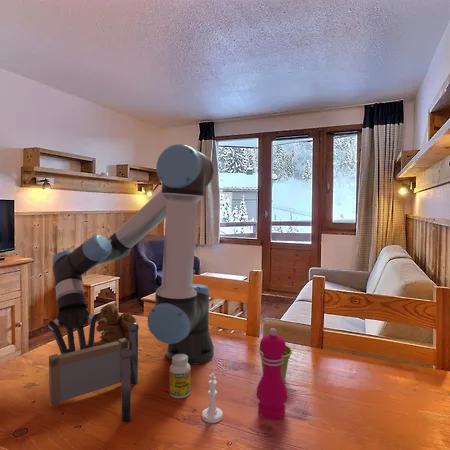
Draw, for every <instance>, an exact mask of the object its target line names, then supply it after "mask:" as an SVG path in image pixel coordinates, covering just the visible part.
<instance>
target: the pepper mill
mask: <svg viewBox="0 0 450 450" xmlns="http://www.w3.org/2000/svg"><path fill="white" fill-rule="evenodd" d="M268 332H269V334H265V335H264V336H263V337H262V338H261V340H260V343H259V346H260V349H261V351H262V353H263V354H262V361H261V363H262V362H263V363H264V372H263V371H262V376H261V378H260V380H259V382H258V385H257V387H256V398H257V400H258V405H257V406H258V407H257V410H258V413H259V415H260V416H261V417H263V418H265V419H267V420H273V421H274V420H280V419H282V418H283V417H284V416H285V415H286V404H285V403H286V401H287V400H288V390H287V389H288V388H287V386H286V384H285V381H283V378H282V375H281V364H283V358H284V357H283V354H284V353H285V350H286V342H285V341H286V340H285V339H284V338H283V337H282V336H281V335H279V334H278V331H277V329H276V328H274V327H271V328H270V329H269V331H268Z"/></svg>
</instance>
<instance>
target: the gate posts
mask: <svg viewBox="0 0 450 450" xmlns="http://www.w3.org/2000/svg"><path fill="white" fill-rule="evenodd" d="M139 327H140V325H139V324H138V323H137V322H136V323H135V322H132V323H130V324H129V326H128V330H129V339H128V348H125V349H123V350H122V351H121V353H120V356H121V383H120V384H121V385H120V386H121V391H120V393H121V395H120V397H121V401H120V404H121V407H120V409H121V414H120V415H121V417H120V418H121V420H120V421H121V423H123V424H126V423H129V422H130V421H131V420H132V419H131V418H132V417H131V415H132V414H131V412H132V410H131V409H132V406H131V405H132V402H131V398H132V393H131V391H132V390H131V388H132V387H131V386H133V385H137V384H138V382H139V329H140V328H139Z"/></svg>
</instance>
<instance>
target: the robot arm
mask: <svg viewBox="0 0 450 450" xmlns="http://www.w3.org/2000/svg"><path fill="white" fill-rule="evenodd" d="M155 169H156V174H157V177H158V178H159V180H160V182H161V190H160V191H158V193H156V194H155V195H154V196H153V197H152V198H151V199H150V200H149V201H147V203H146V204H144V205H143V206H141V208H140V209H139V210H138V211H137V212H135V213H134V214H133V215H132V216H131V217H130V218H129V219H128V220H126V221H125V222H124V223H123V225H121V226H120V227H119V228H118V229H117V230H116V231H115V232H114V233H112V234H111V236H109V237H106V236H104V235H101V234H95V235H93V236H91V237H89V238H87V239H86V240H85V241H84V242H82V244H80V245H79V246H78V247H76V248H75V249H74V250H70V249H67V250H63V251H58V252H57V253H56V254H55V255H54V257H52V258H53V259H52V272H53V279H54V285H55V296H56V297H55V298H56V306H57V307H56V308H57V315H56V318H55V319H54V320H50V321H49V322H48V329H49V331H50V332H51V333H53V336H54V339H55V341H56V344H57V346H58V350H59V352H60V355H61V354H65V353H69V352H74V351H76V347H75V346H76V345H75V343H76V342H75V337H74V336H75V335H74V329H76V332H77V336H78V343H79V350H82V349H86V348H90V347H94V346H95V343H94V342H95V334H96V333H95V332H96V323H98V320H99V315H98V314H93V313H90V311H89V309H88V308H87V307H88V306H87V302H86V296H85V291H84V289H85V288H84V285H83V284H84V283H83V277H82V276H83V275H84V274H87V272H89V271H90V270H92V269H93V268H95V266H97V265H98V266H99V265H102V264H105V263H109V262H111V261H112V262H113V261H116V260H120V259H123V258H125V257H127V256H128V255H129V254H130V252H131V250H132V248H133V247H134V246H136V244H138V243H139V242H140V241H141V240H142V239H144V237H145V236H146V235H148V234H149V233H151V231H152V230H153V229H155V228H156V227H157V226H158V225H160V224H161V223H162V222H163V221H164V220H165V221H164V222H165V223H164V225H165V226H164V227H165V228H164V242H163V257H162V271H161V272H162V273H161V285H160V286H159V287H158V288H157V289H156V290H155V297H154V298H155V299H154V306H153V307H152V308H151V309H150V312H149V313H148V314H147V315H148V316H147V326H148V329H149V331H150V334H151V335H153V337H154V338H155V339H156V340H157V341H159V342H160V343H163V344H166V345H167V348H166V356H167V359H168V360H169V361H171V362H172V357H173V356H174V355H176V354H185V355H187V356H188V363H189V365H190V366H191V365H198V364H203V363H206V362H208V361H209V360H211V359H212V358H213V357H214V355H215V352H214V349H215V348H214V344H213V341H212V337H211V334H210V332H209V322H210V321H209V320H210V318H209V317H210V314H209V313H210V290H209V287H208V286H207V285H205V284H200V283H193V280H194V279H193V278H194V277H193V276H194V265H195V264H194V263H195V262H194V261H195V249H196V235H197V233H196V232H197V218H198V203H199V201H201V200H202V199H203V198H204V195H205V189H206V188H207V187H208V186H209V185H210V183H211V182H212V180H213V178H214V175H215V174H214V173H215V172H214V171H215V170H214V165H213V162H212V160H211V158H209V156H207V154H205V153H203V152H201V151H200V150H197V149H196V148H195V147H194V146H191V145H186V144H183V143H178V144H172V145H170V146H167V147H166V149H164V150H163V151H162V152H161V153H160V155H159V156H158V159H157V162H156V168H155ZM87 320H88V323H90V324H89V330H88V341H86V336H85V330H84V328H85V327H84V325H85V324H86V321H87ZM59 325H61V326H62V327H63V328H65V329H66V336H67V345H66V342H65V339H64V337H63V335H62V332H61V330H60V328H59ZM87 342H88V343H87ZM67 346H68V347H67Z"/></svg>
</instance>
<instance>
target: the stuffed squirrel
mask: <svg viewBox="0 0 450 450" xmlns="http://www.w3.org/2000/svg"><path fill="white" fill-rule="evenodd" d="M99 314H100V319H98V320H97V325H96V326H95V331H96V332H99V333H100V332H101V336H102V337H103V338H102V339H100V340H99V341H98V346H99V345H103V344H107V343H111V342H116V341H118V339H122V338H126V339H127V340H128V341H129V330H128V326H129V324H130V323H132V322H135V323H137V319H136V318H135V317H134V316H133V314H131V313H130V312H124V313H122V314H121V315H120V314H119V309H118V302H113V303H108V304H106V305H104V306H103V307H102V308H100V311H99Z"/></svg>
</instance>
